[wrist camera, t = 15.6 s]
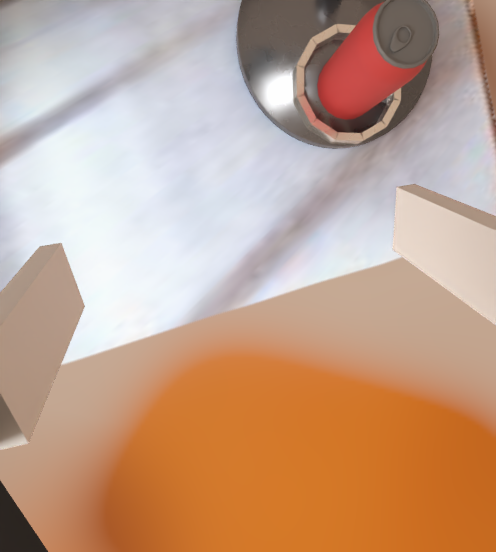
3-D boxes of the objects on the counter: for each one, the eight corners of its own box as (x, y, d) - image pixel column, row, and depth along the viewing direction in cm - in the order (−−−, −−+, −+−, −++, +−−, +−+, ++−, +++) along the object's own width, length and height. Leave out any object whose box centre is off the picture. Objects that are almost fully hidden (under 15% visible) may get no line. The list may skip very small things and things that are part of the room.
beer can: (303, 93, 41) (351, 33, 29) (339, 45, 41) (402, -35, 29) (348, 134, 42) (412, 92, 30) (383, 86, 42) (461, 26, 30)
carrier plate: (198, 77, 40) (200, 53, 35) (299, -108, 40) (316, -159, 35) (367, 185, 44) (390, 177, 39) (459, 17, 44) (495, -12, 39)
